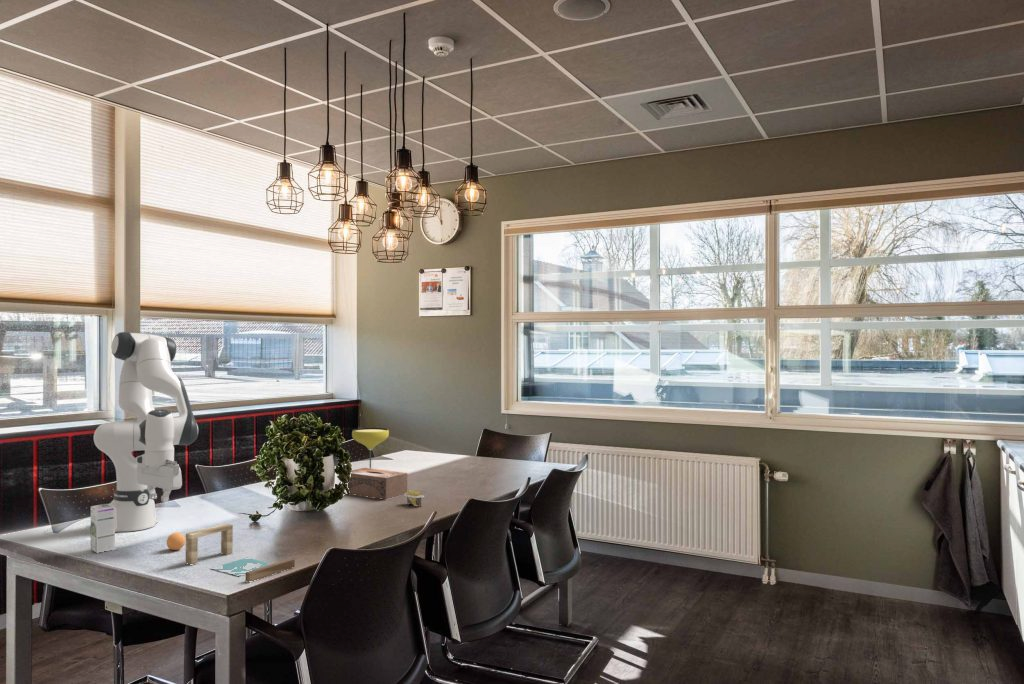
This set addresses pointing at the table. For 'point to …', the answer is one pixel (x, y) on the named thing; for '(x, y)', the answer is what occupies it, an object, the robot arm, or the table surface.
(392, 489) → the tissue box cover
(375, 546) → the table surface
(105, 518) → the syrup box
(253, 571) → the stopper wall
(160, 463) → the robot arm
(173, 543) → the ball
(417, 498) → the plastic food container
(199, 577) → the table surface
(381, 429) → the cocktail glass
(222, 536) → the bridge
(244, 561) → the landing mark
